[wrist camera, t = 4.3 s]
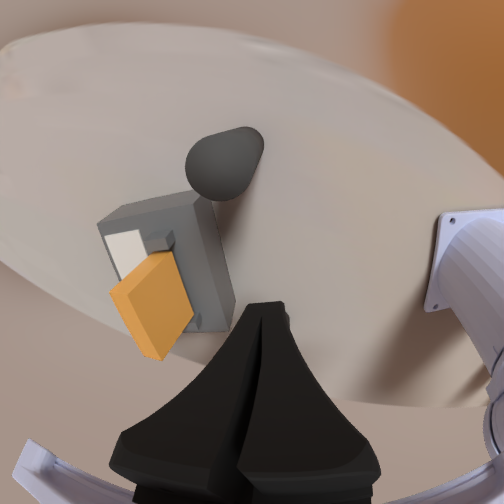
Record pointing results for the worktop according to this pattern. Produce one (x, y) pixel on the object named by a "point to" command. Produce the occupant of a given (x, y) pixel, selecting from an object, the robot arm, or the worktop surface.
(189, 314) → the breaker paddle
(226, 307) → the breaker box
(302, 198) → the worktop surface
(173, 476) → the robot arm
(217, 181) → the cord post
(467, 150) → the worktop surface
